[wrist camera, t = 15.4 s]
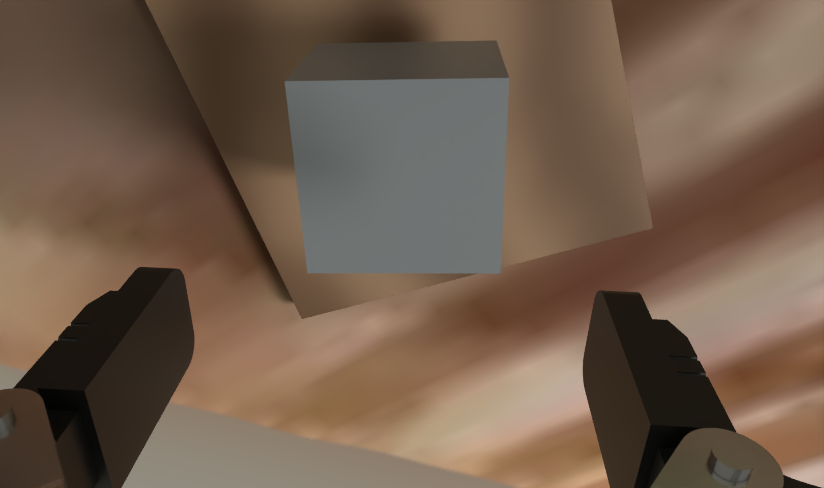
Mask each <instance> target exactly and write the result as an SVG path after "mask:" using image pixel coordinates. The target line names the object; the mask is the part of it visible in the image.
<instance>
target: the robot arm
mask: <svg viewBox="0 0 824 488" xmlns="http://www.w3.org/2000/svg"><path fill="white" fill-rule="evenodd" d="M193 350H194V330H193V325H192V319H191V313H190V307H189V301H188V295H187V290H186V284H185V279H184V275H183V273H182V272H181V270H179V269H172V268H152V267H139V268H137V269H136V270H135V271H134V272H133V274H132V275H131V276H130V277H129V278H128V280H127V281H126V282H125V283H124V284H123V286H122V287H121V288H120V289H119V290H118V291H109V292H107V293H106V294H104V295H102V296H101V297H99V298H97V299H96V300H94V301H92V302H91V303H89V304H88V305H86V306H85V307H84V308H83V310H82V311H81V312H80V313H79V314H78V315H77V316H76V318H75V319H74V320H73V321H72V322H71V326H68V327H67V328H66V329H65V330H64V331H63V332H62V333H61V335H60V336H59V339H58V341H54V343H53V344H52V345H51V346H50V347H49V348H48V349H47V350H46V352H45V353H44V354H43V355H42V356H41V357H40V358H39V360H38V361H37V362H36V363H35V364H34V365H33V366H32V368H31V369H30V370H29V371H28V372H27V373H26V374H25V375H24V377H23V378H22V379H21V380H20V381H19V382H18V383H17V385H16V386H15V387H14V388H12V389H3V390H0V488H121V487H122V486H123V484H124V482H125V480H126V478H127V477H128V475H129V473H130V471H131V469H132V468H133V466H134V464H135V462H136V460H137V458H138V456H139V455H140V453H141V451H142V450H143V448H144V446H145V444H146V442H147V440H148V439H149V437H150V435H151V433H152V431H153V429H154V428H155V426H156V424H157V422H158V421H159V419H160V417H161V415H162V413H163V412H164V410H165V408H166V406H167V404H168V403H169V401H170V399H171V397H172V395H173V394H174V392H175V390H176V388H177V386H178V385H179V383H180V381H181V379H182V377H183V376H184V374H185V372H186V370H187V368H188V367H189V364H190V362H191V359H192V355H193ZM583 381H584V388H585V392H586V396H587V400H588V404H589V407H590V411H591V415H592V419H593V423H594V427H595V431H596V434H597V438H598V442H599V446H600V450H601V454H602V458H603V461H604V465H605V469H606V473H607V477H608V481H609V485H610V488H821V487H817V486H814V485H811V484H807V483H804V482H801V481H798V480H795V479H792V478H790V477H787V476H785V475H783V473H782V470H781V468H780V466H779V464H778V463H777V461H776V460H775V459H774V457H773V456H772V455H771V454H770V453H769V452H768V451H767V450H766V449H764V448H763V447H762V446H761V445H759V444H758V443H756V442H755V441H753V440H751V439H749V438H747V437H745V436H743V435H741V434H738V433H736V431H735V429H734V427H733V425H732V423H731V421H730V419H729V417H728V415H727V413H726V411H725V409H724V407H723V405H722V403H721V402H720V400H719V398H718V396H717V394H716V392H715V390H714V388H713V386H712V384H711V382H710V380H709V378H708V377H706V372H705V371H704V369H703V367H702V365H701V363H700V361H697V355H696V353H695V351H694V349H693V347H692V345H691V343H690V342H689V340H688V338H687V337H686V336H685V335H684V334H683V333H682V332H681V331H679V330H678V329H677V328H676V327H675V326H674V325H673V324H671V323H670V322H669V321H668V320H657V319H652V318H651V315H650V313H649V311H648V309H647V307H646V305H645V302H644V300H643V298H642V296H641V294H640V293H638V292H620V291H598V292H597V294H596V296H595V299H594V304H593V309H592V315H591V320H590V325H589V331H588V336H587V341H586V347H585V352H584V359H583Z"/></svg>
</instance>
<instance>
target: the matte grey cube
mask: <svg viewBox="0 0 824 488" xmlns="http://www.w3.org/2000/svg"><path fill="white" fill-rule="evenodd" d="M285 90H286V98H287V106H288V115H289V123H290V132H291V140H292V148H293V157H294V165H295V173H296V182H297V190H298V199H299V207H300V215H301V224H302V232H303V240H304V249H305V257H306V265H307V273H501V257H502V233H503V210H504V187H505V164H506V141H507V118H508V95H509V76H508V73H507V70H506V67H505V64H504V61H503V58H502V55H501V52H500V49H499V46H498V43H497V40H490V41H436V42H382V43H328V44H316V46H315V47H314V48H313V49H312V50H311V51H310V52H309V54H308V55H307V56H306V57H305V58H304V59H303V61H302V62H301V63H300V64H299V65H298V66H297V67H296V69H295V70H294V71H293V72H292V73H291V74H290V76H289V77H288V78H287V79H286V80H285Z"/></svg>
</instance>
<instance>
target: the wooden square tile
mask: <svg viewBox="0 0 824 488" xmlns="http://www.w3.org/2000/svg"><path fill="white" fill-rule="evenodd" d="M145 2H146V4H147V6H148V8H149V10H150V12H151V14H152V16H153V18H154V20H155V22H156V24H157V26H158V28H159V30H160V32H161V34H162V36H163V38H164V40H165V42H166V44H167V46H168V48H169V50H170V52H171V54H172V56H173V58H174V61H175V63H176V65H177V67H178V69H179V71H180V73H181V75H182V77H183V79H184V81H185V83H186V85H187V87H188V89H189V91H190V93H191V95H192V97H193V99H194V101H195V103H196V105H197V107H198V109H199V111H200V113H201V115H202V117H203V119H204V121H205V123H206V125H207V127H208V129H209V132H210V134H211V136H212V138H213V140H214V142H215V144H216V146H217V148H218V150H219V152H220V154H221V156H222V158H223V160H224V162H225V164H226V166H227V168H228V170H229V172H230V174H231V176H232V178H233V180H234V182H235V184H236V186H237V188H238V190H239V192H240V194H241V196H242V198H243V200H244V202H245V205H246V207H247V209H248V211H249V213H250V215H251V217H252V219H253V221H254V223H255V225H256V227H257V229H258V231H259V233H260V235H261V237H262V239H263V241H264V243H265V245H266V247H267V249H268V251H269V253H270V255H271V257H272V259H273V261H274V263H275V265H276V267H277V269H278V271H279V273H280V276H281V278H282V280H283V282H284V284H285V286H286V288H287V290H288V292H289V294H290V296H291V298H292V300H293V302H294V304H295V306H296V308H297V310H298V312H299V314H300V316H301V318H302V319H304V318H308V317H312V316H315V315H319V314H323V313H327V312H331V311H335V310H339V309H343V308H346V307H350V306H354V305H358V304H362V303H366V302H370V301H373V300H377V299H381V298H385V297H389V296H393V295H397V294H401V293H404V292H408V291H412V290H416V289H420V288H424V287H428V286H431V285H435V284H439V283H443V282H447V281H451V280H455V279H459V278H462V277H466V276H470V275H474V274H478V273H307V265H306V257H305V249H304V240H303V232H302V224H301V215H300V207H299V199H298V190H297V182H296V173H295V165H294V157H293V148H292V140H291V132H290V123H289V115H288V106H287V98H286V90H285V80H286V79H287V78H288V77H289V76H290V74H291V73H292V72H293V71H294V70H295V69H296V67H297V66H298V65H299V64H300V63H301V62H302V61H303V59H304V58H305V57H306V56H307V55H308V54H309V52H310V51H311V50H312V49H313V48H314V47H315V46H316V44H328V43H382V42H436V41H490V40H497V43H498V46H499V49H500V52H501V55H502V58H503V61H504V64H505V67H506V70H507V73H508V76H509V95H508V118H507V141H506V164H505V187H504V210H503V233H502V257H501V267H505V266H509V265H513V264H517V263H520V262H524V261H528V260H532V259H536V258H540V257H544V256H547V255H551V254H555V253H559V252H563V251H567V250H571V249H575V248H578V247H582V246H586V245H590V244H594V243H598V242H602V241H605V240H609V239H613V238H617V237H621V236H625V235H629V234H633V233H636V232H640V231H644V230H648V229H652V228H653V226H652V221H651V215H650V210H649V204H648V199H647V193H646V188H645V183H644V177H643V172H642V166H641V161H640V155H639V150H638V144H637V139H636V133H635V128H634V122H633V117H632V111H631V106H630V101H629V95H628V90H627V84H626V79H625V73H624V68H623V62H622V57H621V51H620V46H619V40H618V35H617V29H616V24H615V19H614V13H613V8H612V2H611V0H145Z"/></svg>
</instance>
